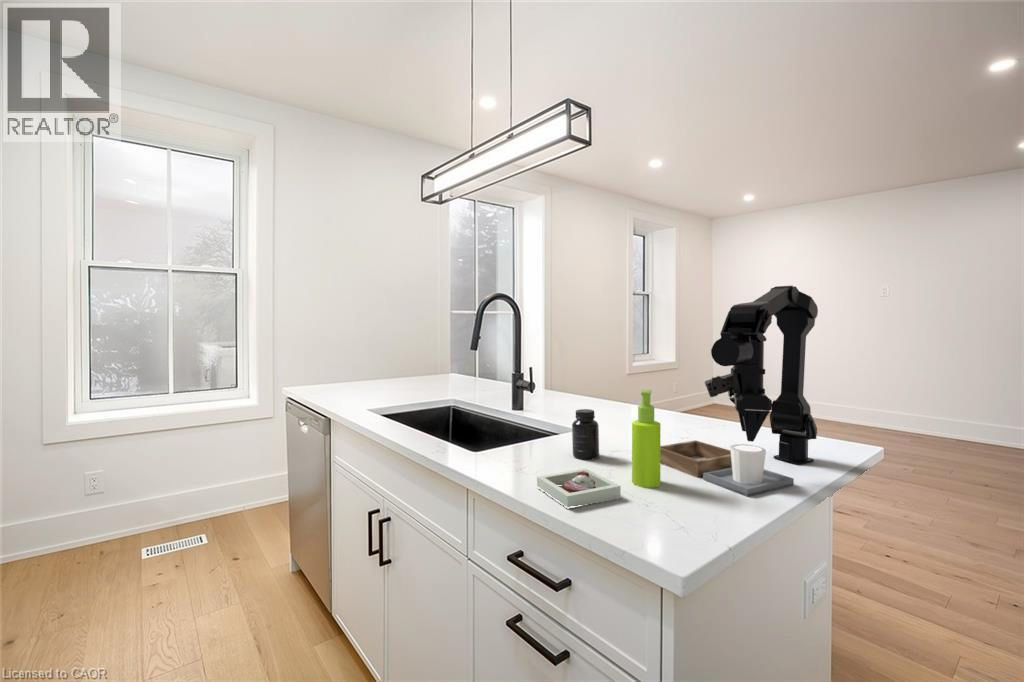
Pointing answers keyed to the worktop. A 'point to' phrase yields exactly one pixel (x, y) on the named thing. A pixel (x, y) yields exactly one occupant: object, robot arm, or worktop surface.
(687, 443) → the walnut bin
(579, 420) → the supplement bottle
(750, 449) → the white tapered cup
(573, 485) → the pastry
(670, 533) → the worktop surface
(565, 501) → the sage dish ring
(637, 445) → the soap dispenser
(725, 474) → the charcoal tray
